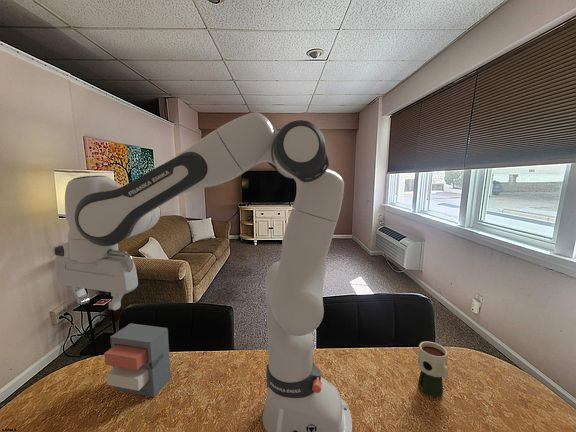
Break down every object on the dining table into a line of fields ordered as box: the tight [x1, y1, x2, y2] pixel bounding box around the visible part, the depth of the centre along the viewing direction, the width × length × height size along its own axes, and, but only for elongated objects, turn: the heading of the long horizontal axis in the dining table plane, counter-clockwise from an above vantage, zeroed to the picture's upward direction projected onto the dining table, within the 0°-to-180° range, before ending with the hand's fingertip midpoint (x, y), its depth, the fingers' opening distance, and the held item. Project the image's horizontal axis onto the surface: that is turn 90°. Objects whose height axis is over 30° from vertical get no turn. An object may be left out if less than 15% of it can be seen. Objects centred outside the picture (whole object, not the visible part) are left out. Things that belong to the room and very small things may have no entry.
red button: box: [103, 344, 148, 370], centre depth 68 cm, size 4×10×3 cm, turn 78°
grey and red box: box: [110, 323, 172, 398], centre depth 74 cm, size 7×13×16 cm, turn 78°
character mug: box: [417, 341, 449, 398], centre depth 71 cm, size 11×7×13 cm, turn 8°
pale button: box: [105, 366, 150, 391], centre depth 69 cm, size 4×10×3 cm, turn 78°
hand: (99, 305), depth 58 cm, fingers open, 8 cm apart
